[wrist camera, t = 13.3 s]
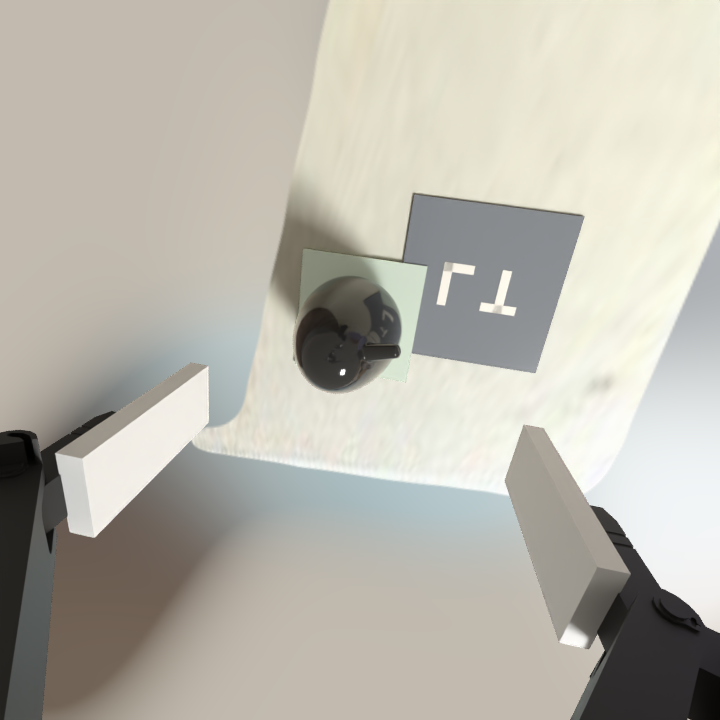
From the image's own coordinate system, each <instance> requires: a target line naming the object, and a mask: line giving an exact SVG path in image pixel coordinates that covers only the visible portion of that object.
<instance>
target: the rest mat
mask: <svg viewBox="0 0 720 720" xmlns="http://www.w3.org/2000/svg"><path fill="white" fill-rule="evenodd" d="M426 272H427V266H421V265H415V264H408V263H402V262H395V261H388V260H381V259H374V258H367V257H361V256H354V255H347V254H340V253H333V252H326V251H319V250H312V249H305V248H303V255H302V269H301V284H300V298H299V312H300V310H301V308H302V306H303V304H304V302H305V301H306V299H307V298H308V296H309V295H310V294H311V293H312V292H313V291H314V290H315V289H316V288H317V287H319V286H320V285H321V284H323V283H324V282H326V281H328V280H330V279H333V278H336V277H341V276H359V277H363V278H366V279H369V280H371V281H374V282H375V283H377V284H379V285H380V286H381V287H383V288H384V289H385V290H386V291H387V292H388V293H389V294H390V295H391V296H392V298H393V299H394V301H395V303H396V304H397V306H398V309H399V311H400V315H401V319H402V337H401V342H400V345H399V346H400V349H401V355H400V357H399V358H396V359H393V360H392V361H391V363H390V364H389V365H388V367H387V368H386V369H385V370H384V371H383V372H382V373H381V374H380V375H379V376H378V377H377V378H382V379H388V380H394V381H400V382H406V380H407V374H408V369H409V364H410V358H411V353H412V347H413V342H414V337H415V331H416V326H417V321H418V315H419V310H420V304H421V299H422V294H423V288H424V283H425V277H426ZM299 312H298V314H299ZM295 364H297V363H296V360H295Z"/></svg>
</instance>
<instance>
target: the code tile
mask: <svg viewBox="0 0 720 720" xmlns="http://www.w3.org/2000/svg"><path fill="white" fill-rule="evenodd" d="M583 220H584V217H583V216H575V215H568V214H560V213H552V212H545V211H537V210H529V209H522V208H514V207H506V206H499V205H491V204H483V203H476V202H468V201H461V200H453V199H445V198H438V197H430V196H422V195H415V194H414V199H413V205H412V212H411V218H410V224H409V230H408V236H407V242H406V248H405V255H404V261H403V263H408V264H415V265H421V266H427V272H426V277H425V283H424V288H423V294H422V299H421V304H420V310H419V315H418V321H417V326H416V331H415V337H414V342H413V347H412V353H413V354H420V355H426V356H432V357H438V358H444V359H451V360H457V361H463V362H469V363H475V364H482V365H488V366H494V367H500V368H506V369H513V370H519V371H525V372H531V373H536V369H537V366H538V363H539V360H540V357H541V353H542V350H543V347H544V344H545V341H546V338H547V334H548V331H549V328H550V325H551V322H552V319H553V315H554V312H555V309H556V306H557V303H558V299H559V296H560V293H561V290H562V287H563V284H564V280H565V277H566V274H567V271H568V268H569V264H570V261H571V258H572V255H573V252H574V249H575V245H576V242H577V239H578V236H579V233H580V230H581V226H582V223H583Z"/></svg>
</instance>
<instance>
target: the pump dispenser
mask: <svg viewBox="0 0 720 720" xmlns="http://www.w3.org/2000/svg"><path fill="white" fill-rule="evenodd" d="M401 337H402V319H401V315H400V311H399V309H398V306H397V304H396V303H395V301H394V299H393V298H392V296H391V295H390V294H389V293H388V292H387V291H386V290H385V289H384V288H383V287H381V286H380V285H379V284H377V283H375V282H374V281H371V280H369V279H366V278H363V277H359V276H341V277H336V278H333V279H330V280H328V281H326V282H324V283H323V284H321V285H320V286H319V287H317V288H316V289H315V290H314V291H313V292H312V293H311V294H310V295H309V296H308V298H307V299H306V301H305V302H304V304H303V306H302V308H301V310H300V312H299V314H298V316H297V319H296V322H295V326H294V332H293V351H294V356H295V360H296V363H297V366H298V368H299V370H300V372H301V374H302V375H303V377H304V378H305V379H306V380H307V381H308V382H309V383H310V384H311V385H312V386H314V387H315V388H317V389H319V390H321V391H324V392H327V393H333V394H342V393H348V392H352V391H355V390H358V389H360V388H362V387H364V386H366V385H367V384H369V383H370V382H372V381H373V380H374V379H376V378H377V377H378V376H379V375H380V374H381V373H382V372H383V371H384V370H385V369H386V368H387V367H388V365H389V364H390V363H391V361H392V360H393V359H396V358H399V357H400V355H401V349H400V346H399V345H400V342H401Z"/></svg>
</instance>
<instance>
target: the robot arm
mask: <svg viewBox="0 0 720 720" xmlns="http://www.w3.org/2000/svg"><path fill="white" fill-rule="evenodd" d="M208 386H209V385H208V366H206V365H201V364H195V363H190V364H188V365H187V366H185V367H184V368H182V369H181V370H179V371H178V372H176V373H175V374H173V375H172V376H170V377H169V378H167V379H166V380H164V381H163V382H161V383H160V384H158V385H157V386H155V387H154V388H152V389H151V390H149V391H148V392H146V393H145V394H143V395H142V396H140V397H139V398H137V399H136V400H134V401H133V402H131V403H130V404H128V405H127V406H125V407H124V408H122V409H121V410H119V411H118V412H113V411H111V412H108V413H105V414H102V415H100V416H97V417H94V418H93V419H91V420H90V421H88V422H87V423H85V424H84V425H82V427H79V428H77V429H76V430H74V431H72V432H71V434H68V435H66V436H65V437H63V438H61V439H60V440H58V441H57V442H55V443H53V444H52V445H51V446H49V447H47V448H46V449H44V450H43V451H41V452H40V449H39V444H38V439H37V436H36V434H35V433H33V432H31V431H25V430H15V431H14V430H13V431H6V432H1V433H0V720H42V711H43V700H44V688H45V676H46V663H47V652H48V640H49V627H50V615H51V603H52V590H53V578H54V567H55V555H56V542H57V533H56V528H55V526H56V525H58V524H59V523H60V522H61V521H62V520H63V519H64V518H66V517H67V520H68V525H69V531H70V532H72V533H76V534H80V535H85V536H89V537H93V538H94V537H96V536H97V535H98V534H99V533H100V532H101V531H102V530H103V528H105V527H106V526H107V525H108V524H109V523H110V521H111V520H112V519H113V518H114V517H115V516H116V515H117V514H118V513H119V512H120V511H121V510H122V509H123V508H124V507H125V506H126V505H127V504H128V503H129V502H130V501H131V500H132V499H133V498H134V497H135V496H136V495H137V494H138V493H139V492H140V491H141V490H142V489H143V488H144V487H145V486H146V485H147V484H148V483H149V482H150V481H151V480H152V479H153V478H154V477H155V476H156V475H157V474H158V473H159V472H160V471H161V470H162V469H163V468H164V467H165V466H166V465H167V464H168V463H169V462H170V461H171V460H172V459H173V458H174V457H175V456H176V455H177V454H178V453H179V452H180V451H181V449H183V448H184V447H185V446H186V445H187V444H188V442H190V441H191V440H192V439H193V438H194V437H195V436H196V435H197V434H198V433H199V432H200V431H201V430H202V429H203V428H204V426H205V425H206V424H207V423H208V422H209V401H208V400H209V390H208V389H209V387H208ZM505 483H506V486H507V489H508V492H509V495H510V498H511V501H512V504H513V507H514V510H515V513H516V516H517V519H518V522H519V524H520V528H521V531H522V534H523V537H524V540H525V542H526V546H527V549H528V552H529V555H530V557H531V560H532V563H533V566H534V569H535V572H536V575H537V578H538V581H539V584H540V587H541V590H542V593H543V596H544V599H545V602H546V605H547V608H548V611H549V614H550V617H551V620H552V623H553V626H554V629H555V632H556V635H557V638H558V641H559V643H563V644H568V645H572V646H577V647H581V648H585V649H589V648H590V647H591V644H592V643H593V641H594V639H595V637H596V636H597V634H598V636H599V638H600V640H601V642H602V645H603V647H604V649H605V651H604V653H603V654H602V656H601V658H600V660H599V661H598V663H597V665H596V667H595V668H594V670H593V672H592V673H591V675H590V680H589V682H588V684H587V687H586V689H585V691H584V693H583V695H582V697H581V699H580V701H579V703H578V705H577V707H576V709H575V711H574V713H573V715H572V717H571V719H570V720H687V718H688V719H690V720H720V633H718V632H715V631H714V630H711V629H709V628H707V627H705V625H704V624H703V622H702V620H701V618H700V617H699V615H698V614H697V613H696V612H695V611H694V610H693V609H692V608H691V607H690V606H689V605H688V604H686V603H685V602H684V601H683V600H681V599H680V598H679V597H677V596H676V595H674V594H672V593H670V592H668V591H666V590H664V589H661V588H660V586H659V585H658V583H657V582H656V580H655V579H654V577H653V576H652V574H651V573H650V571H649V569H648V568H647V566H646V565H645V563H644V562H643V560H642V559H641V557H640V556H639V554H638V553H637V551H636V550H635V549H633V545H632V544H631V542H630V541H629V539H628V538H627V537H626V534H625V533H624V531H623V530H622V528H621V527H620V525H619V524H618V522H617V521H616V520H615V519H614V518H613V517H612V516H611V515H609V514H608V513H607V512H606V511H605V510H604V509H603V508H601V507H596V506H591V505H589V503H588V502H587V500H586V498H585V497H584V495H583V493H582V492H581V490H580V488H579V487H578V485H577V483H576V482H575V480H574V478H573V477H572V475H571V473H570V472H569V470H568V468H567V467H566V465H565V463H564V462H563V460H562V458H561V457H560V455H559V453H558V452H557V450H556V448H555V447H554V445H553V443H552V442H551V440H550V438H549V437H548V435H547V433H546V432H545V430H544V428H539V427H534V426H528V425H524V426H523V429H522V431H521V434H520V437H519V440H518V443H517V446H516V449H515V452H514V455H513V458H512V461H511V463H510V466H509V469H508V472H507V475H506V478H505Z"/></svg>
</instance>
